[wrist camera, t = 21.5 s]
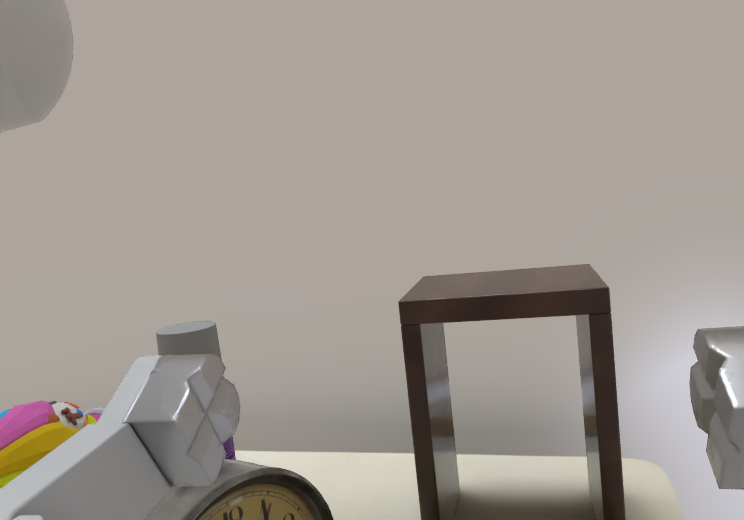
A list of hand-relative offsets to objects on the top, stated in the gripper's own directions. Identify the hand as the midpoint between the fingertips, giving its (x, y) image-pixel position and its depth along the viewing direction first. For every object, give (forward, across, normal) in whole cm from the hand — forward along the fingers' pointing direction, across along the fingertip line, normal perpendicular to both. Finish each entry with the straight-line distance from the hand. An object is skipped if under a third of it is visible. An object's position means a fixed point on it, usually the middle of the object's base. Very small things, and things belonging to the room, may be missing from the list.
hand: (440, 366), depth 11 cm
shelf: (+16, 0, +33) cm, 37 cm away
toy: (+26, +38, +34) cm, 58 cm away
